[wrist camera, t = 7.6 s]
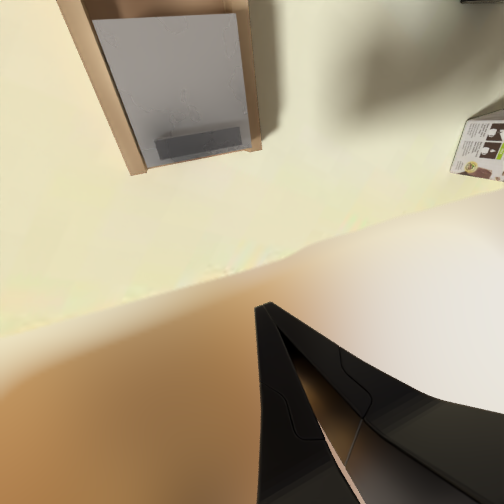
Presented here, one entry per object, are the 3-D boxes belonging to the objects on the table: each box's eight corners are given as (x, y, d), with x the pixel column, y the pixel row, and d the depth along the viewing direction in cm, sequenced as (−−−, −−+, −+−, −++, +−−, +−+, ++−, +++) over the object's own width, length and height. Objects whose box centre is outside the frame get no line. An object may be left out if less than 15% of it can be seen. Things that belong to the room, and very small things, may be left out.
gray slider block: (222, 33, 14) (240, 6, 10) (239, 144, 17) (255, 148, 14) (106, 41, 12) (86, 12, 9) (149, 161, 16) (146, 170, 12)
